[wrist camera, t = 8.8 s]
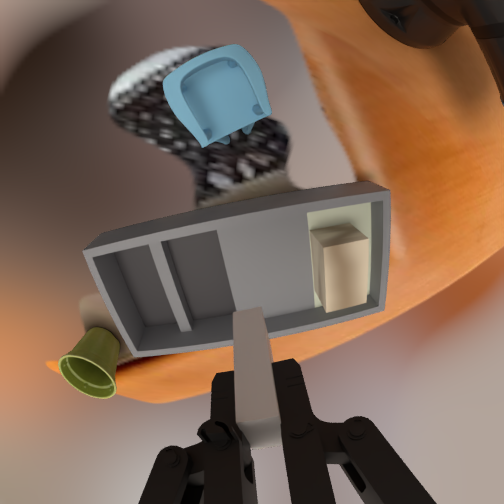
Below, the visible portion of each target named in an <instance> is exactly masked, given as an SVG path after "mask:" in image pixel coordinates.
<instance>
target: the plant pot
mask: <svg viewBox="0 0 504 504" xmlns="http://www.w3.org/2000/svg"><path fill="white" fill-rule="evenodd" d="M119 350H120V344H119V341H118V340H117V339H116V338H115V337H114V336H113V335H112V333H111V332H109V331H108V330H106V329H103V328H99V327H94V328H92V329H90V330H88V332H87V333H86V334H85V335H84V336H83V338H82V339H81V340H80V341H79V342H78V344H77V345H76V346H75V347H74V348H73V350H72V351H70V352H69V353H68V354H66V355H64V356H62V357H61V358H60V360H59V363H58V366H59V370H60V372H61V374H62V376H63V377H64V378H65V380H66V381H67V382H68V383H69V384H70V385H71V386H73V387H74V388H75V389H77V390H78V391H80V392H82V393H84V394H86V395H88V396H91V397H95V398H102V399H106V398H110V397H112V396H113V395H114V394H115V393H116V389H117V387H116V383H115V372H116V366H117V360H118V355H119Z"/></svg>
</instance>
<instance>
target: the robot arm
mask: <svg viewBox="0 0 504 504" xmlns="http://www.w3.org/2000/svg"><path fill="white" fill-rule="evenodd" d="M359 1H360V2H361V4H362V6H363V7H364V9H365V10H366V12H367V13H368V14H369V16H370V17H371V18H372V19H373V20H374V21H375V22H376V23H377V24H378V25H379V26H380V27H381V28H382V29H383V30H384V31H385V32H387V33H388V34H389V35H391V36H392V37H394V38H395V39H397V40H398V41H400V42H402V43H404V44H406V45H409V46H412V47H415V48H422V49H425V48H430V47H434V46H438V45H440V44H442V43H444V42H445V41H446V40H447V39H448V38H449V37H450V36H451V35H452V34H453V33H454V32H455V31H456V30H457V29H458V28H460V27H461V26H464V25H468V26H469V27H470V29H471V31H472V32H473V34H474V36H475V38H476V40H477V42H478V44H479V46H480V48H481V50H482V52H483V54H484V56H485V58H486V61H487V63H488V65H489V67H490V70H491V72H492V74H493V77H494V79H495V82H496V84H497V87H498V90H499V93H500V99H501V102H502V104H503V106H504V0H359ZM233 346H234V371H227V372H221V373H216V375H215V377H214V379H213V381H212V389H211V392H212V394H211V416H210V420H208V421H206V422H204V423H203V424H202V425H201V426H200V428H199V429H198V432H197V435H198V436H199V437H200V438H201V440H202V442H200V443H198V444H195V445H192V446H189V447H187V448H184V449H183V448H181V447H178V446H168V447H165V448H164V449H162V450H161V451H160V452H159V454H158V455H157V458H156V460H155V463H154V465H153V468H152V470H151V473H150V475H149V478H148V481H147V483H146V486H145V488H144V490H143V493H142V496H141V498H140V501H139V503H138V504H258V500H257V491H256V480H255V469H254V461H253V458H252V456H251V450H250V447H251V448H252V450H254V449H262V448H269V447H275V446H281V445H283V451H284V458H285V464H286V470H287V477H288V482H289V489H290V496H291V502H292V504H336V502H335V498H334V493H333V489H332V485H331V481H330V477H329V472H328V468H327V464H339V465H340V466H341V468H342V469H343V471H344V472H345V474H346V476H347V477H348V479H349V480H350V482H351V483H352V485H353V487H354V488H355V490H356V491H357V493H358V494H359V496H360V497H361V499H362V500H363V502H364V503H365V504H436V502H435V501H434V500H433V499H432V497H431V496H430V495H429V494H428V492H427V491H426V490H425V489H424V487H423V486H422V485H421V483H420V482H419V481H418V480H417V479H416V477H415V476H414V475H413V473H412V472H411V471H410V470H409V468H408V467H407V466H406V464H405V463H404V462H403V461H402V459H401V458H400V457H399V455H398V454H397V453H396V452H395V450H394V449H393V448H392V446H391V445H390V444H389V443H388V441H387V440H386V439H385V438H384V436H383V435H382V434H381V432H380V431H379V430H378V428H377V427H376V426H375V425H374V423H373V422H372V421H371V420H369V419H368V418H365V417H362V416H360V417H359V416H356V417H353V418H349V419H347V420H346V421H345V422H344V423H329V422H324V421H321V420H319V419H318V418H316V416H315V415H314V414H313V412H312V409H311V405H310V401H309V397H308V394H307V390H306V386H305V382H304V378H303V375H302V371H301V367H300V365H299V364H298V363H297V362H296V361H295V360H294V358H292V359H288V360H283V361H278V362H273V356H272V351H271V345H270V340H269V336H268V332H267V328H266V324H265V320H264V316H263V312H262V308H261V307H256V308H251V309H247V310H242V311H237V312H233Z"/></svg>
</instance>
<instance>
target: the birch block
mask: <svg viewBox="0 0 504 504" xmlns="http://www.w3.org/2000/svg"><path fill="white" fill-rule="evenodd" d="M310 241H311V252H312V265H313V278H314V290H315V292H316V294H317V296H318V298H319V300H320V302H321V304H322V306H323V308H324V310H325V312H326V313H328V312H332V311H336V310H340V309H344V308H348V307H352V306H356V305H359V304H363V303H366V301H367V286H368V261H369V238H367V237H366V236H365V235H364V234H363V233H361V232H360V231H359V230H358V229H357V228H355V227H354V226H353V225H352V224H350V223H347V224H341V225H336V226H330V227H325V228H319V229H314V230H310Z"/></svg>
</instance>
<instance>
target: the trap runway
mask: <svg viewBox="0 0 504 504" xmlns="http://www.w3.org/2000/svg"><path fill="white" fill-rule="evenodd" d="M347 223H350V224H352V225H353V226H354V227H355V228H357V229H358V230H359V231H360V232H361V233H363V234H364V235H365V236H366V237H367V238H369V261H368V286H367V301H366V303H363V304H359V305H356V306H352V307H348V308H344V309H340V310H336V311H332V312H328V313H326V312H325V310H324V308H323V306H322V304H321V302H320V300H319V298H318V296H317V294H316V292H315V290H314V278H313V265H312V252H311V241H310V230H314V229H319V228H325V227H330V226H336V225H341V224H347ZM390 226H391V198H390V190H389V189H386V188H384V187H382V186H379V185H377V184H374V183H372V182H370V181H361V182H353V183H346V184H339V185H332V186H325V187H318V188H312V189H305V190H299V191H293V192H287V193H281V194H275V195H270V196H264V197H259V198H253V199H248V200H243V201H238V202H232V203H227V204H222V205H218V206H213V207H208V208H203V209H199V210H194V211H189V212H186V213H181V214H177V215H172V216H168V217H163V218H159V219H155V220H151V221H147V222H143V223H139V224H135V225H131V226H127V227H123V228H119V229H116V230H112V231H108V232H104V233H101V234H100V235H99V236H98V237H97V238H95V239H94V240H93V241H92V242H91V243H90V244H89V245H88V246H87V247H86V248H85V249H84V250H83V254H84V256H85V259H86V261H87V264H88V266H89V269H90V271H91V273H92V276H93V278H94V280H95V283H96V285H97V287H98V289H99V292H100V294H101V296H102V298H103V300H104V302H105V304H106V306H107V308H108V310H109V312H110V314H111V316H112V318H113V320H114V322H115V324H116V326H117V328H118V330H119V332H120V334H121V335H122V337H123V339H124V341H125V343H126V344H127V346H128V348H129V350H130V351H131V353H132V355H133V356H134V357H143V356H155V355H165V354H175V353H183V352H192V351H199V350H207V349H214V348H220V347H227V346H233V312H237V311H242V310H247V309H251V308H256V307H261V308H262V312H263V316H264V320H265V324H266V328H267V332H268V336H269V339H272V338H277V337H282V336H287V335H291V334H296V333H300V332H305V331H309V330H314V329H318V328H322V327H326V326H330V325H334V324H338V323H342V322H345V321H349V320H353V319H357V318H360V317H364V316H367V315H371V314H374V313H377V312H381V311H384V309H385V301H386V292H387V282H388V269H389V254H390Z"/></svg>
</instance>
